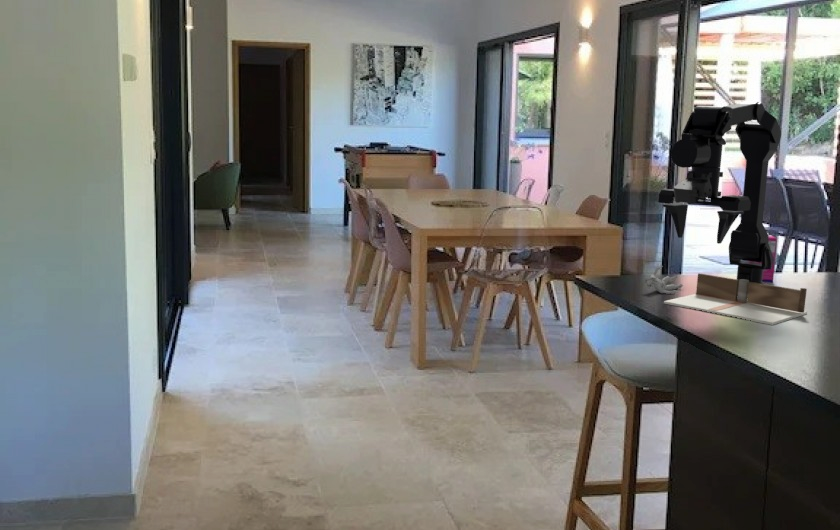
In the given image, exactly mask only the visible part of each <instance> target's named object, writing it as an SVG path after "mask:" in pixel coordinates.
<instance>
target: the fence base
mask: <svg viewBox="0 0 840 530" xmlns="http://www.w3.org/2000/svg"><path fill="white" fill-rule="evenodd" d="M748 284H749V280H745V279H739V280H737V278H736V279H735V278H729V277H723V276H718V275H712V274H706V273H701V272H699V273H697V281H696V291H695V294H699V295H705V296H710V297H716V298H721V299H726V300H732V301H737V302H739V303H747V296H748Z"/></svg>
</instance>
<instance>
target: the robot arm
mask: <svg viewBox="0 0 840 530" xmlns="http://www.w3.org/2000/svg"><path fill="white" fill-rule="evenodd" d="M688 117H689V118H688V119H687V121H686V124H685V126H684V128H683V130H682V133H681V139H679V140H677V141H676V142H675V143H674V145H672V148H671V150H670V158H671V161H672V163H674V165H676V166H678V167H679V168H691V170H687V173H686V178H685V179H684V180H682V181H680V182H679V183H676V185H674V186H673V188H671V189H670V188H668V189H666V188H665V189H661V190H660V191H659V192H658V194H657V203H661V204H662V207H663V208H666V209H667V210H668V211H669V213H670V215H671V218H672V221H673V223H674V226H675V227H674V228H675V231H676V235H677V238H678V239H681V238H683V235H684V232H685V227H686V221H687V215H688V207H689V205H695V204H696V205H697V204H699V205H708V206H717V207H719V208H720V209H721V210H718V211H717V212H716V213H717V215H718V226H717V233H716V236H717V237H716V243H717V244H719V245H720V244H722V242H723V241H724V239H725V237H726V236H727V234H728V233H729V231H730V229H731V227H732V225H733V223H735V221H736V220H737V218H738V217H739V215H740V222H739V224H738V226H736V228H735V230H732V231H731V233H730V241H729V244H728V258H729V260H728V261H729V265H732V266H737V270H736V271H737V272H736V279H737V280H739V279H745V280H749V282H755V283H761V284H763V282H762V278H763V270H765V269H772V266H773V262H774V258H773V255H772V252H771V249H770V246H769V244H768V243H769V236H768V235H769V233H768V232H767V229H766V228H765V226H764V224H763V223H764V222H763V221H764V211H765V202H766V201H765V200H766V191H767V182H768V179H767V178H768V170H769V162H770V160H771V159H772V158H773V156H774V155H775V153H776V152H777V150H778V149H779V148H778V147H779V143H780V141H781V137H782V129H781V127H780V125H779V122H778V120H777V118H776V117H775V116H773V115H772V114H771V113H770V112H768V111H767V110H766V108H765V106H764V104H763V103H762V102H760V101H741V102H738V103H734V104H730V105H725V106H724V105H695V107H694V108H693V111H691V113H690V115H689V116H688ZM734 125H736V126H735V128H734V129H735V130H734V131H735V133H736V135H737V137H738V139H739V150H740V152H741V153H742V155H743V157H744V159H745V171H744V181H743V192H742V193H743V194H742V195H733V194H731V195H722V191H719V187H720V186H719V185H720V178H723V177H724V171H721V164H722V155H723V145H724V146H725V145H726V144H727V141H726V140H725V138H724V136H725V134H726V133H728V132H730V131H731V130H732V126H734ZM685 203H687V204H685ZM688 204H689V205H688ZM749 261H753V262H749ZM755 262H761V263H755ZM748 286H749V285H748Z"/></svg>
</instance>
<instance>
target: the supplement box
mask: <svg viewBox="0 0 840 530" xmlns="http://www.w3.org/2000/svg"><path fill="white" fill-rule="evenodd" d="M768 236H769V243H768V244H769V246H770V249H771V252H772V255H773V258H774V262H773V266H772V269H765V270H763V278H762V283H774V276H775V275H774V274H775V263H776V252H777V242H778V241H777V240H778V238H777V237H775V236H773V235H772V234H768ZM749 262H753V261H749ZM755 263H761V262H755Z"/></svg>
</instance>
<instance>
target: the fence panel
mask: <svg viewBox="0 0 840 530" xmlns="http://www.w3.org/2000/svg"><path fill="white" fill-rule="evenodd" d="M748 285H749V286H748V295H747V303H753V304H758V305H764V306H769V307H774V308H780V309H785V310H791V311H796V312H800V313H804V311H805V308H806V299H807V298H806V297H807V290H808V288H806V287H805V288H804V287H801V288H800V289H798V288H796V289H795V288H790V287H784V286H778V285H772V284H767V283H762V284H761V283H755V282H749V284H748Z"/></svg>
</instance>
